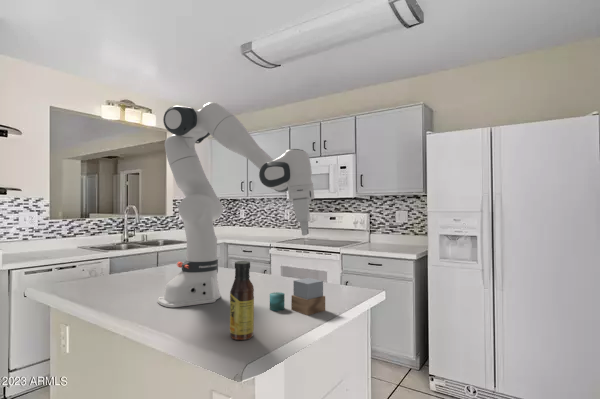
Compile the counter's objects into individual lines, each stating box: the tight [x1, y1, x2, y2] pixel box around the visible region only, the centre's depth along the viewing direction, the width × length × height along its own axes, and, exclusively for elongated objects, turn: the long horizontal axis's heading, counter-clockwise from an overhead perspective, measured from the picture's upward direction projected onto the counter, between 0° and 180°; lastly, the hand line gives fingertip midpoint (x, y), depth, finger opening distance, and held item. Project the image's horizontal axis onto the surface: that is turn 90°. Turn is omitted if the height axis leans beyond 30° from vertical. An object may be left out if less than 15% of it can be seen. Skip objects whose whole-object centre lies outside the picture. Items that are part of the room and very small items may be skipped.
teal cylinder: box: [269, 291, 285, 312], centre depth 120 cm, size 5×5×5 cm
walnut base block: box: [290, 294, 326, 316], centre depth 119 cm, size 8×8×5 cm
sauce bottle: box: [229, 260, 255, 341], centre depth 94 cm, size 7×6×20 cm
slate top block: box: [293, 277, 324, 300], centre depth 119 cm, size 7×7×5 cm
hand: (305, 234), depth 122 cm, fingers open, 8 cm apart
